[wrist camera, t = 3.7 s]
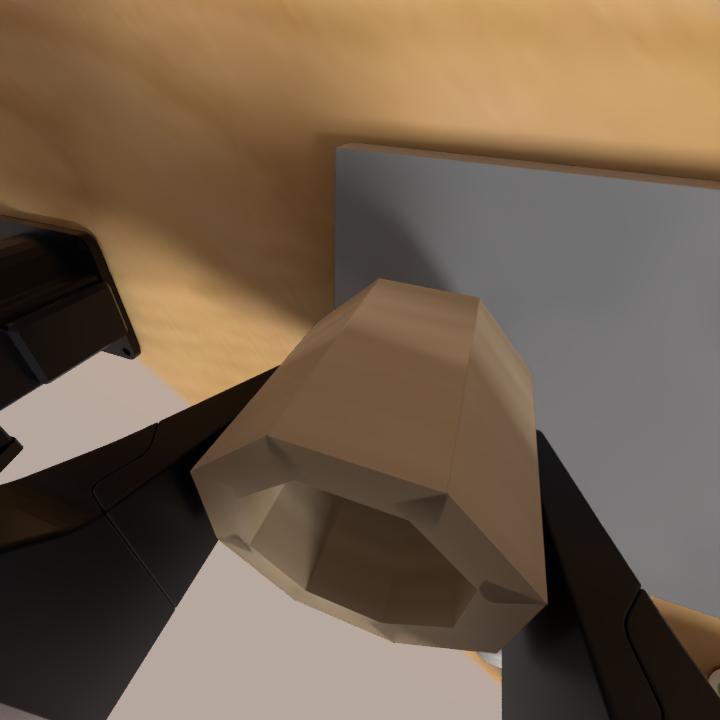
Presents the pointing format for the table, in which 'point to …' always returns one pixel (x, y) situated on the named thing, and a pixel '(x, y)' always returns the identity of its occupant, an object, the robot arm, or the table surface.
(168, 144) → the table surface
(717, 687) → the supplement bottle
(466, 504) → the napkin ring
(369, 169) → the slate board
